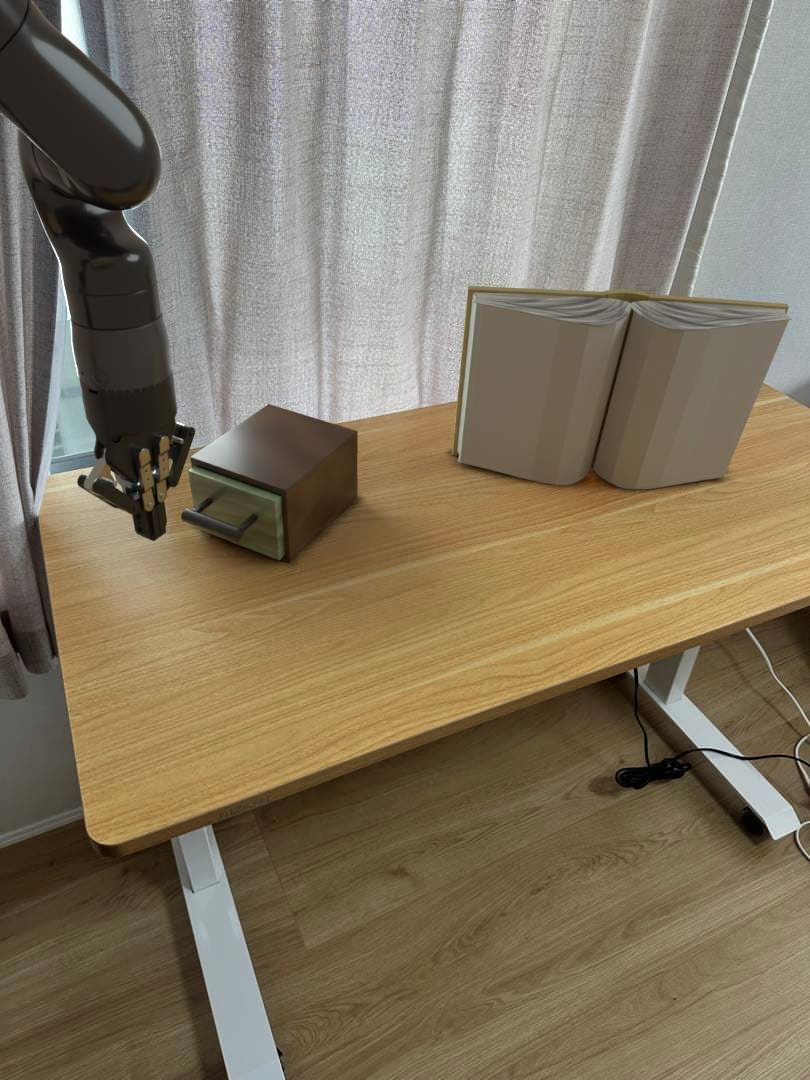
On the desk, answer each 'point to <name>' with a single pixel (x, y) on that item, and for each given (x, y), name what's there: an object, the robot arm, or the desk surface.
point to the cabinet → (291, 468)
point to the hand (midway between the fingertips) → (152, 534)
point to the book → (609, 383)
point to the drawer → (236, 512)
